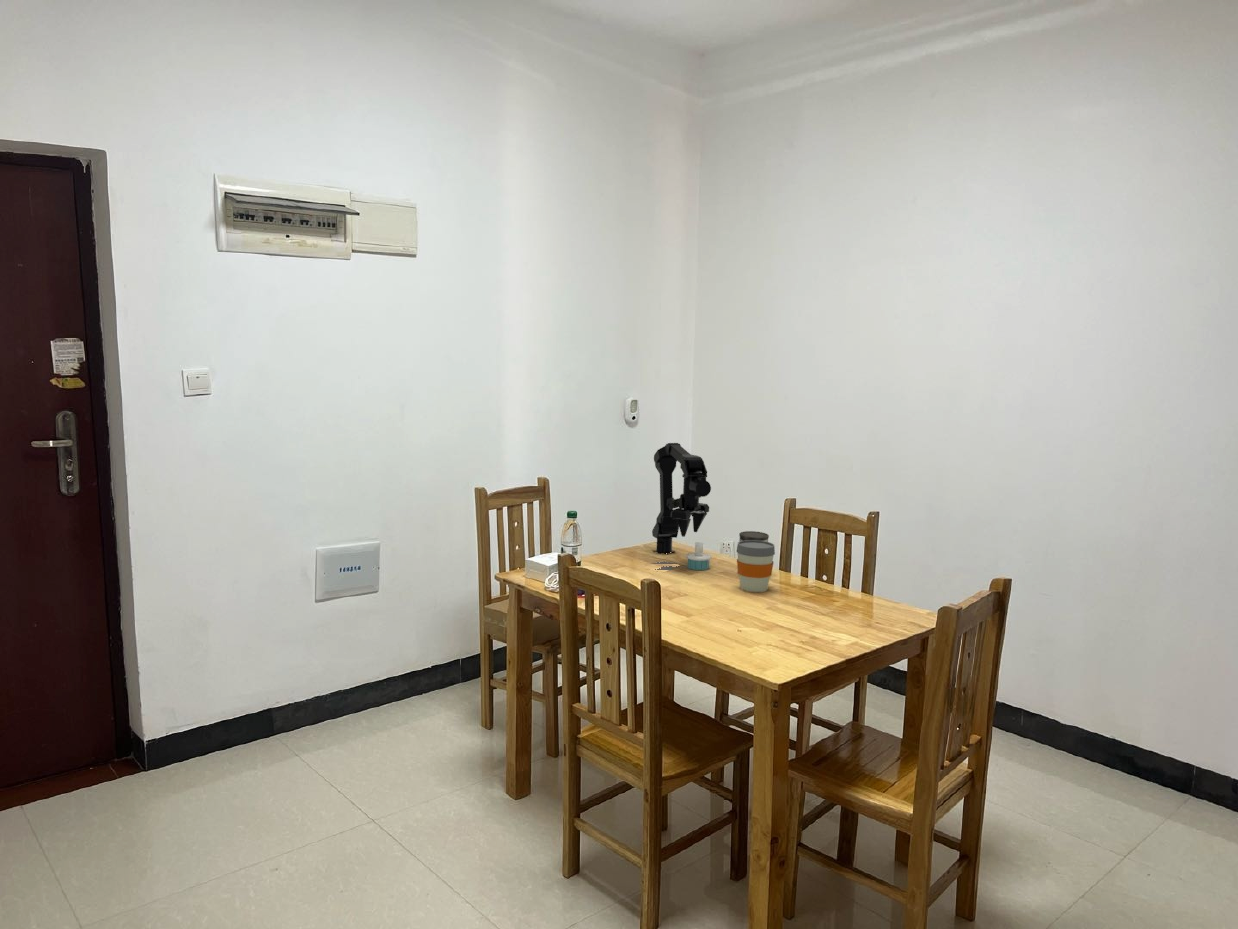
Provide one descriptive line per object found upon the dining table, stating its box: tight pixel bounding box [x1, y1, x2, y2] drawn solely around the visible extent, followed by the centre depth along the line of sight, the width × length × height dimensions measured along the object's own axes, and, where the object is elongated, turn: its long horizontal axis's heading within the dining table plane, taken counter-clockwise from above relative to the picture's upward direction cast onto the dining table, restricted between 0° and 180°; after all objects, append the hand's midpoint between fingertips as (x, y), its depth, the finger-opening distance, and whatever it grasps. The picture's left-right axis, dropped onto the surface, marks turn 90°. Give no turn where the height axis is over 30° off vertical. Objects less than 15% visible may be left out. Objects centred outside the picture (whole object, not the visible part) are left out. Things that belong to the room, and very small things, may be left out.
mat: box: [651, 560, 679, 571], centre depth 310 cm, size 14×10×1 cm
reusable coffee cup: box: [736, 540, 776, 593], centre depth 285 cm, size 13×13×15 cm
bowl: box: [686, 559, 710, 571], centre depth 309 cm, size 8×8×4 cm
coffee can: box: [738, 530, 770, 542], centre depth 305 cm, size 10×10×14 cm
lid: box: [685, 542, 712, 561], centre depth 309 cm, size 9×9×5 cm
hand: (689, 534), depth 309 cm, fingers open, 9 cm apart
